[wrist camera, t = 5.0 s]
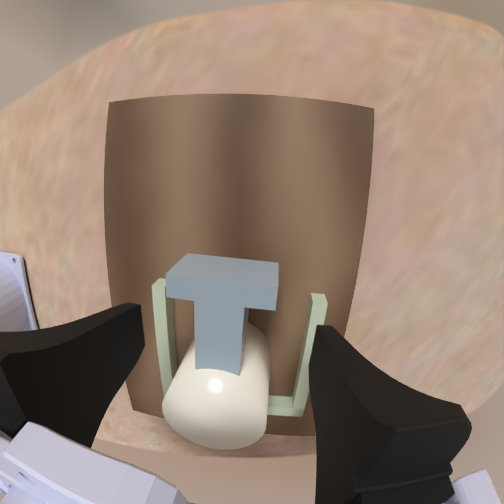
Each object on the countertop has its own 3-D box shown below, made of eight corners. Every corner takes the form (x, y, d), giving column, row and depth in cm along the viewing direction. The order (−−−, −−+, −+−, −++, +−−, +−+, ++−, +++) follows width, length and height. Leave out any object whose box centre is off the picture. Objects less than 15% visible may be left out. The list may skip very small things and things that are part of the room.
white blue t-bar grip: (266, 385, 18) (260, 454, 13) (193, 375, 19) (167, 439, 13) (284, 252, 16) (286, 298, 10) (192, 242, 16) (148, 281, 10)
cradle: (169, 388, 19) (164, 399, 18) (159, 278, 17) (151, 285, 16) (301, 405, 19) (302, 416, 17) (324, 294, 16) (327, 303, 15)
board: (136, 403, 21) (133, 409, 20) (115, 104, 15) (109, 102, 14) (314, 428, 20) (314, 435, 19) (369, 111, 14) (374, 108, 13)
